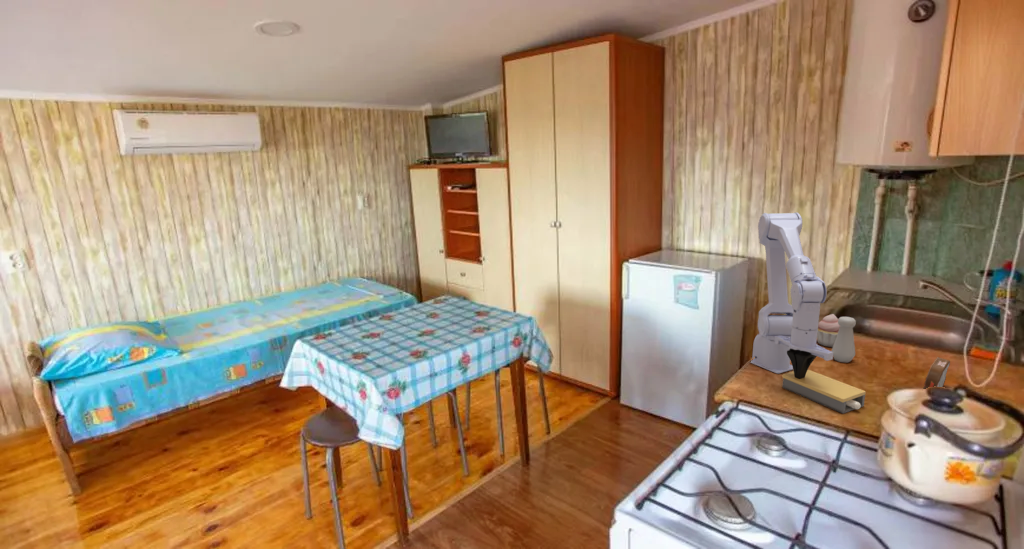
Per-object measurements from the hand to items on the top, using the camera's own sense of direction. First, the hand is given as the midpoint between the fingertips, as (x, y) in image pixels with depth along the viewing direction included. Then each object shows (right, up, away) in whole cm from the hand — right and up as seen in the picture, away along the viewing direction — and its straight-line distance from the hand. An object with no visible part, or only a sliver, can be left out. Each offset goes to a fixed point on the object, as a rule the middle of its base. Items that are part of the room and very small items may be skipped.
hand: (799, 377), depth 134 cm
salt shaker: (+23, +1, +19) cm, 30 cm away
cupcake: (+27, +4, +32) cm, 42 cm away
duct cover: (+4, -1, -3) cm, 5 cm away
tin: (+33, -4, -2) cm, 33 cm away
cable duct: (+4, -4, -2) cm, 6 cm away
